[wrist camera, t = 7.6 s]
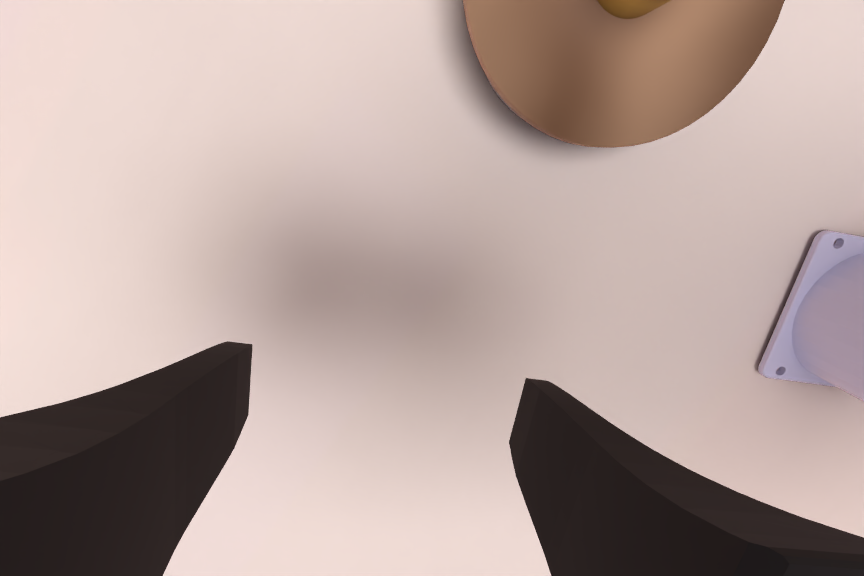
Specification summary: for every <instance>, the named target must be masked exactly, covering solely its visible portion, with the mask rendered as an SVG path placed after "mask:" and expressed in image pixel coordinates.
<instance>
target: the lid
mask: <svg viewBox="0 0 864 576" xmlns="http://www.w3.org/2000/svg"><path fill="white" fill-rule="evenodd" d="M784 1H785V0H463V4H464V10H465V16H466V22H467V27H468V31H469V34H470V38H471V41H472V45H473V48H474V50H475V53H476V55H477V57H478V60H479V62H480V65H481V67H482V69H483V71H484V72H485V74H486V76H487V78H488V79H489V81H490V83H491V85H492V86H493V88H494V89H495V90H496V91H497V93H498V94H499V95H500V97H501V98H502V99H503V101H504V102H505V103H506V104H507V105H508V106H509V107H510V108H511V109H512V110H513V111H514V112H515V113H516V114H517V115H518V116H519V117H521V118H522V119H523V120H525V121H526V122H527V123H529V124H530V125H531V126H533V127H534V128H536V129H538V130H539V131H541V132H543V133H545V134H547V135H549V136H551V137H553V138H556V139H559V140H562V141H564V142H567V143H571V144H576V145H581V146H587V147H624V146H634V145H638V144H643V143H647V142H652V141H655V140H657V139H660V138H663V137H666V136H668V135H671V134H673V133H675V132H677V131H679V130H681V129H683V128H685V127H687V126H689V125H690V124H692V123H693V122H695V121H696V120H698V119H699V118H701V117H702V116H704V115H705V114H707V113H708V112H709V111H710V110H711V109H712V108H714V107H715V106H716V105H717V104H718V103H720V102H721V101H722V100H723V99H724V98H725V97H726V96H727V95H728V94H729V93H730V92H731V91H732V90H733V89H734V88H735V86H736V85H737V84H738V83H739V82H740V81H741V80H742V78H743V77H744V76H745V74H746V73H747V72H748V70H749V69H750V68H751V67H752V65H753V64H754V62H755V61H756V59H757V57H758V56H759V54H760V53H761V51H762V49H763V48H764V46H765V44H766V43H767V41H768V39H769V36H770V34H771V32H772V30H773V28H774V26H775V24H776V22H777V20H778V17H779V14H780V11H781V9H782V6H783V3H784Z"/></svg>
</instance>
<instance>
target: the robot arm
mask: <svg viewBox="0 0 864 576" xmlns="http://www.w3.org/2000/svg"><path fill="white" fill-rule="evenodd" d="M835 240H836V243H835V244H834V242H835ZM833 244H834V245H833ZM251 358H252V344H244V343H235V342H224V343H221V344H218V345H216V346H213V347H211V348H208V349H206V350H204V351H201V352H199V353H197V354H194V355H192V356H190V357H187V358H185V359H183V360H180V361H178V362H176V363H174V364H171V365H169V366H167V367H164V368H162V369H159V370H157V371H154V372H152V373H149V374H146V375H144V376H141V377H139V378H136V379H133V380H131V381H128V382H126V383H123V384H120V385H117V386H115V387H112V388H109V389H106V390H103V391H100V392H97V393H93V394H90V395H87V396H83V397H80V398H77V399H73V400H70V401H66V402H63V403H59V404H55V405H51V406H47V407H42V408H38V409H34V410H30V411H26V412H21V413H17V414H13V415H9V416H4V417H0V576H163V574H164V571H165V569H166V567H167V565H168V563H169V561H170V559H171V557H172V555H173V552H174V550H175V548H176V547H177V545H178V543H179V541H180V539H181V537H182V536H183V534H184V532H185V530H186V528H187V527H188V525H189V523H190V522H191V520H192V518H193V517H194V515H195V513H196V512H197V510H198V508H199V507H200V505H201V503H202V502H203V500H204V498H205V497H206V495H207V493H208V492H209V490H210V488H211V487H212V485H213V483H214V482H215V480H216V478H217V477H218V475H219V473H220V472H221V470H222V468H223V467H224V465H225V463H226V461H227V460H228V458H229V456H230V455H231V453H232V451H233V449H234V447H235V445H236V443H237V440H238V438H239V436H240V434H241V431H242V429H243V426H244V424H245V421H246V419H247V416H248V409H249V392H250V375H251ZM778 368H779V369H778ZM777 369H778V370H777ZM758 370H759V373H760V374H762V375H763V376H765V377H767V378H773V379H781V380H788V381H796V382H804V383H811V384H819V385H826V386H834V387H838V388H840V389H842V390H844V391H845V392H847V393H849V394H851V395H853V396H855V397H857V398H858V399H860V400H862V401H864V237H862V236H856V235H851V234H845V233H840V232H834V231H828V230H824V231H821V232H819V233H818V234H817V235H816V236H815V238H814V240H813V242H812V245H811V247H810V249H809V252H808V254H807V256H806V258H805V261H804V263H803V265H802V268H801V270H800V272H799V275H798V277H797V279H796V281H795V284H794V286H793V288H792V291H791V293H790V295H789V298H788V300H787V302H786V304H785V307H784V309H783V311H782V314H781V316H780V318H779V321H778V323H777V325H776V327H775V330H774V332H773V334H772V337H771V339H770V341H769V344H768V346H767V348H766V350H765V353H764V355H763V357H762V360H761V362H760V364H759V368H758ZM776 370H777V371H776ZM509 444H510V449H511V455H512V460H513V464H514V469H515V473H516V477H517V480H518V483H519V486H520V489H521V491H522V494H523V497H524V500H525V503H526V505H527V508H528V511H529V513H530V516H531V519H532V522H533V524H534V527H535V530H536V532H537V535H538V538H539V541H540V543H541V546H542V549H543V552H544V554H545V557H546V560H547V563H548V567H549V570H550V573H551V576H864V538H863V537H860V536H857V535H854V534H850V533H847V532H844V531H841V530H838V529H835V528H832V527H829V526H826V525H823V524H820V523H817V522H814V521H811V520H808V519H805V518H802V517H799V516H796V515H794V514H791V513H789V512H786V511H783V510H781V509H778V508H776V507H773V506H770V505H768V504H765V503H763V502H760V501H758V500H755V499H753V498H750V497H748V496H746V495H743V494H741V493H738V492H736V491H734V490H732V489H729V488H727V487H725V486H723V485H721V484H719V483H716V482H714V481H712V480H710V479H708V478H706V477H703V476H701V475H699V474H697V473H695V472H693V471H691V470H689V469H687V468H685V467H683V466H681V465H680V464H678V463H676V462H674V461H672V460H670V459H669V458H667V457H665V456H663V455H661V454H659V453H658V452H656V451H654V450H652V449H651V448H649V447H647V446H646V445H644V444H642V443H641V442H639V441H638V440H636V439H634V438H633V437H631V436H630V435H628V434H627V433H625V432H623V431H622V430H620V429H619V428H617V427H616V426H614V425H613V424H611V423H610V422H608V421H607V420H605V419H604V418H602V417H601V416H600V415H598V414H597V413H595V412H594V411H592V410H591V409H590V408H588V407H587V406H585V405H584V404H583V403H581V402H580V401H578V400H577V399H575V398H574V397H573V396H571V395H570V394H568V393H567V392H565V391H564V390H562V389H561V388H559V387H558V386H556V385H554V384H552V383H551V382H549V381H544V380H536V379H528V378H526V380H525V384H524V388H523V391H522V395H521V399H520V403H519V406H518V410H517V414H516V418H515V422H514V425H513V429H512V433H511V437H510V440H509Z"/></svg>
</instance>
